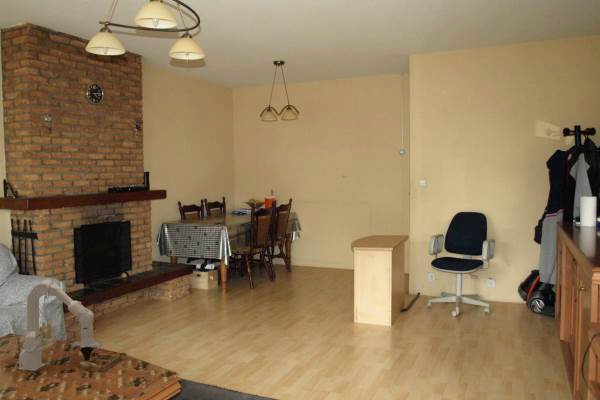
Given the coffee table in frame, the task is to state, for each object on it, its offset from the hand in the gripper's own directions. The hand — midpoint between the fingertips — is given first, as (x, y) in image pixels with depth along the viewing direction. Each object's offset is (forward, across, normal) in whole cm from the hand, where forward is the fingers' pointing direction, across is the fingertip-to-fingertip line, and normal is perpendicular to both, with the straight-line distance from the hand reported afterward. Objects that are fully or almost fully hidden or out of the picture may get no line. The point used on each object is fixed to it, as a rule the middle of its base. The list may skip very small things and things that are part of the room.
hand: (87, 361), depth 240 cm
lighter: (0, 0, -1) cm, 1 cm away
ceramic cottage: (+2, -42, +16) cm, 45 cm away
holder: (+1, +8, 0) cm, 8 cm away
